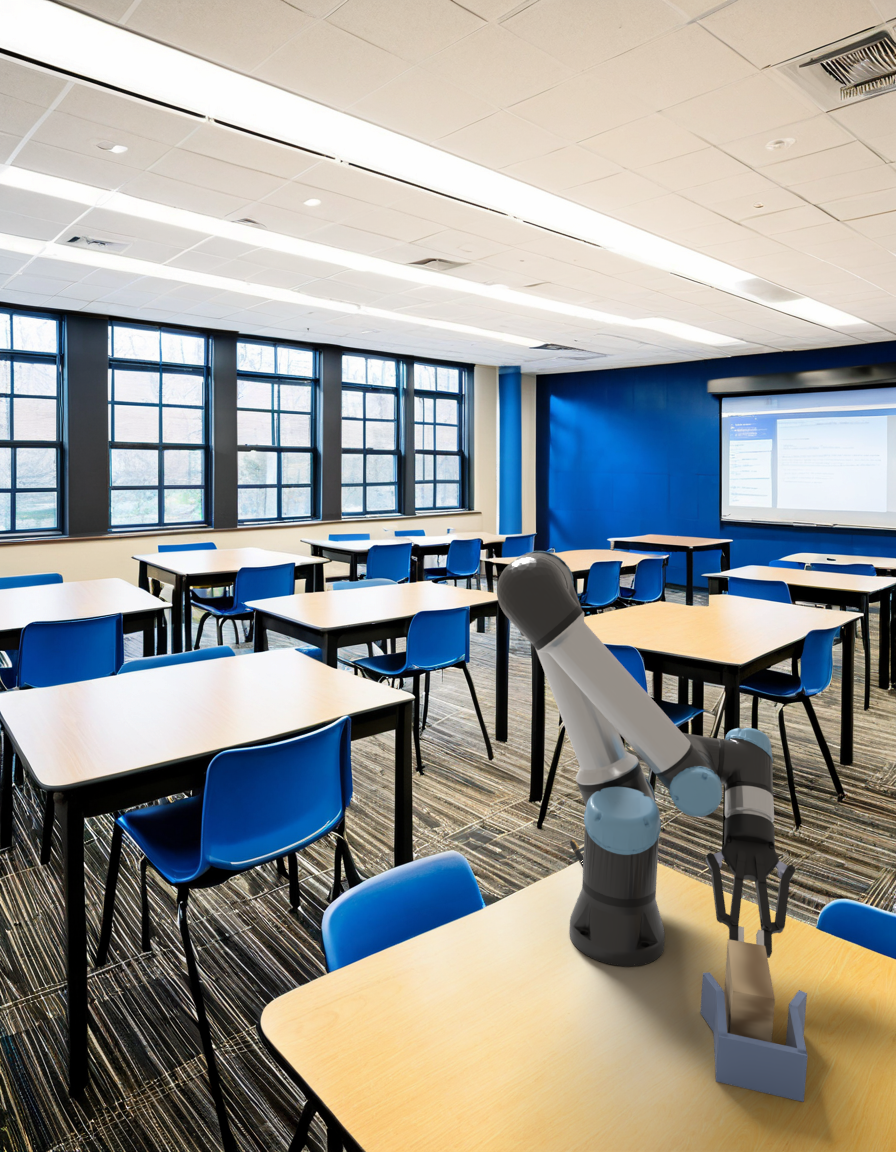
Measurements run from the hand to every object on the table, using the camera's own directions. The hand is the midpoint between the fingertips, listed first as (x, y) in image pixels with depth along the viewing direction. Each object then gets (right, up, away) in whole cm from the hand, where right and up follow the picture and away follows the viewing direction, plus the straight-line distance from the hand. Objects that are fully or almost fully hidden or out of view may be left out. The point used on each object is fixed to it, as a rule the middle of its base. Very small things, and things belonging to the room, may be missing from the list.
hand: (750, 977), depth 111 cm
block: (-3, -4, -6) cm, 8 cm away
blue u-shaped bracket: (-4, -4, -11) cm, 12 cm away
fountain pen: (-18, +2, +41) cm, 45 cm away
